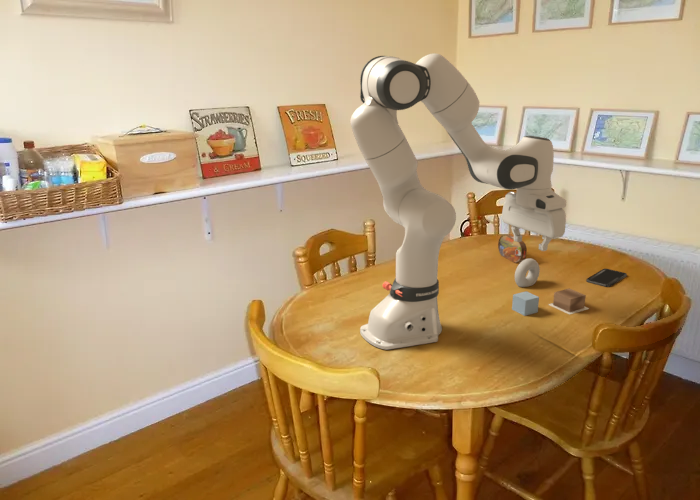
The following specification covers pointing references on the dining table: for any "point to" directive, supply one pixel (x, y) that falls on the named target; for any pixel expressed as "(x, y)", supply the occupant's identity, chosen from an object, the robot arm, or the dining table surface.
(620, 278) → the phone
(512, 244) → the tin
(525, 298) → the blue block
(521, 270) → the donut
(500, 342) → the dining table surface
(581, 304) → the walnut block
